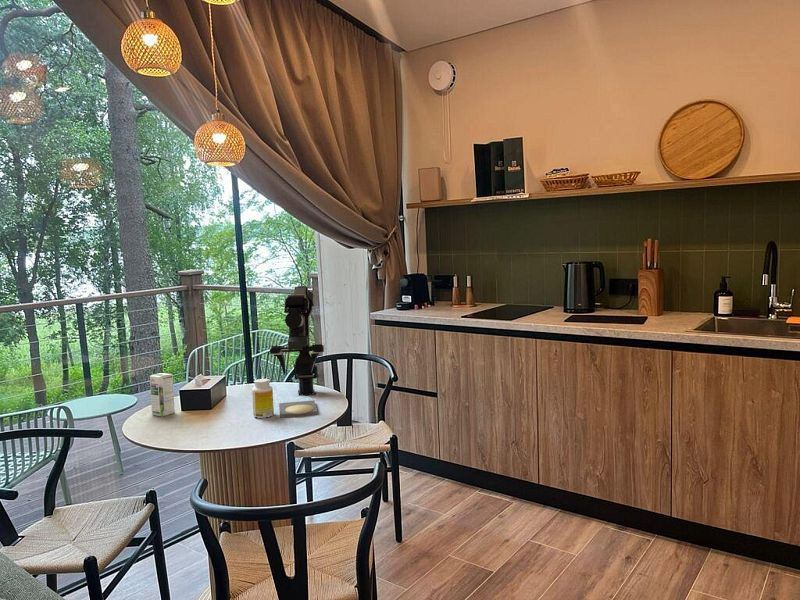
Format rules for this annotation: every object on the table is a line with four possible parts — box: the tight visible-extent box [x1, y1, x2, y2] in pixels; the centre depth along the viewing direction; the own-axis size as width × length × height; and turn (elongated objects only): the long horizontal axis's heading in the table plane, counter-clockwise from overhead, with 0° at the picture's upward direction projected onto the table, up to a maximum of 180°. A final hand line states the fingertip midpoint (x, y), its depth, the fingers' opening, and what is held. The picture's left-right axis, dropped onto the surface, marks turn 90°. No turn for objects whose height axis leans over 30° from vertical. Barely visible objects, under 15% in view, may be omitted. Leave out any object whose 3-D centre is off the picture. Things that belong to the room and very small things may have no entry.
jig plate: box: [278, 400, 318, 418], centre depth 210 cm, size 16×13×2 cm
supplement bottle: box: [251, 378, 275, 419], centre depth 205 cm, size 7×7×13 cm
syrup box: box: [149, 372, 176, 417], centre depth 210 cm, size 6×6×14 cm
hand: (297, 373), depth 207 cm, fingers open, 9 cm apart
